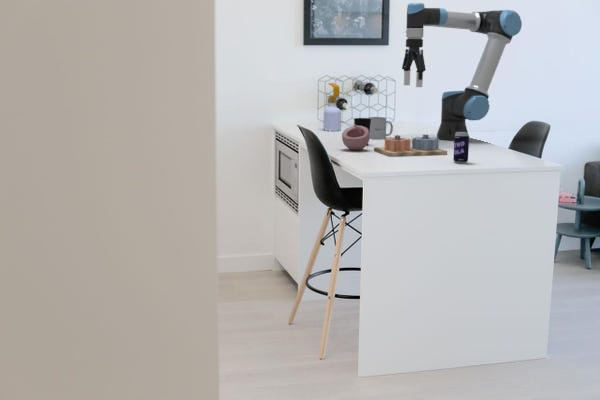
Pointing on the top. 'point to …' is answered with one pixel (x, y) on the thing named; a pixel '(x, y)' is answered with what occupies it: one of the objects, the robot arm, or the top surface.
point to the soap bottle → (333, 112)
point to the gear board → (409, 153)
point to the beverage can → (461, 147)
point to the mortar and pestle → (355, 137)
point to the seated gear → (425, 143)
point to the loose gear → (397, 144)
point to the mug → (379, 128)
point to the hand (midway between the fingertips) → (412, 86)
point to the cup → (363, 123)
